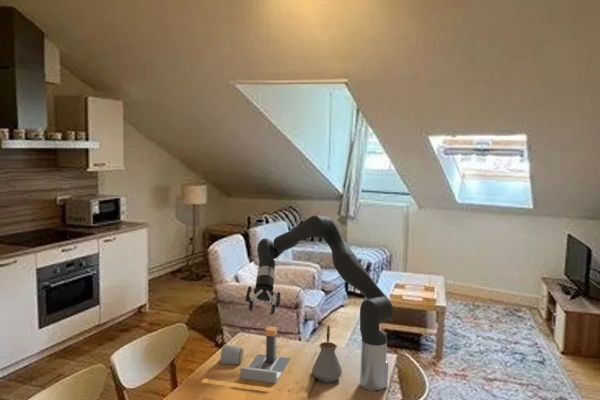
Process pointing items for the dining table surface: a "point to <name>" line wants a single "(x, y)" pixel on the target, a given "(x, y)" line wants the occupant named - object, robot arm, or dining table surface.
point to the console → (264, 369)
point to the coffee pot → (327, 362)
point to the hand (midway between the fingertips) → (261, 312)
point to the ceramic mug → (231, 355)
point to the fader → (270, 343)
